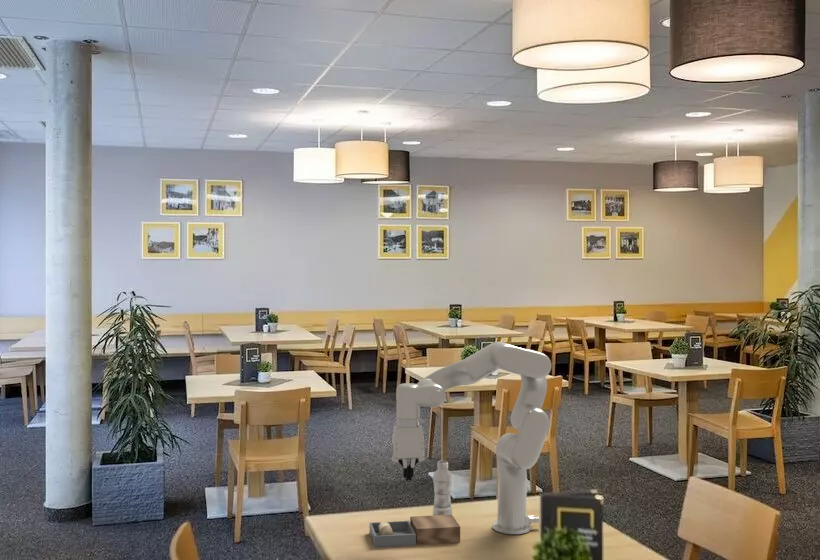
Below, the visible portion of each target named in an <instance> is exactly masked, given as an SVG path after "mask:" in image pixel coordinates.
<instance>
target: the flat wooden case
mask: <svg viewBox="0 0 820 560" xmlns="http://www.w3.org/2000/svg"><path fill="white" fill-rule="evenodd" d="M409 522H410V524H411V526H412V528H413V530H414V531H415V533H416V546H417V545H420V546H421V545H434V544H435V545H437V544H458V543H461V526H460V524H459V523H458V521H457V519H455V517H454V516H453V514H452V515H434V516H433V515H415V516H410V517H409Z"/></svg>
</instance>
